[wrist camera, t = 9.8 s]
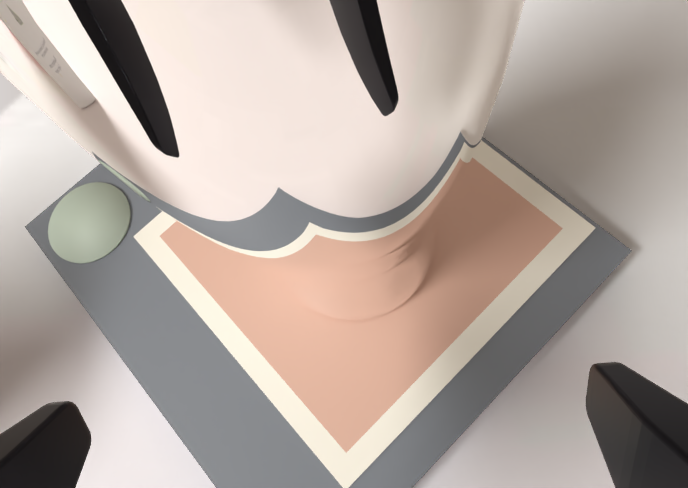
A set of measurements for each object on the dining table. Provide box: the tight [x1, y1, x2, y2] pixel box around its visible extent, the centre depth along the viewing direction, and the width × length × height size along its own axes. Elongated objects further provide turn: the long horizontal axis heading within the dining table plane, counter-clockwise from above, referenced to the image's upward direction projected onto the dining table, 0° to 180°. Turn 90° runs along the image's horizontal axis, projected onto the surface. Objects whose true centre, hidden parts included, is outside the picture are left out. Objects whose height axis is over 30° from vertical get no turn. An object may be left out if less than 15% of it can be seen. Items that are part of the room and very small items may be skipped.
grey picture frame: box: [25, 137, 632, 488], centre depth 19 cm, size 18×16×1 cm
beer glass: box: [0, 0, 525, 321], centre depth 11 cm, size 7×7×15 cm
